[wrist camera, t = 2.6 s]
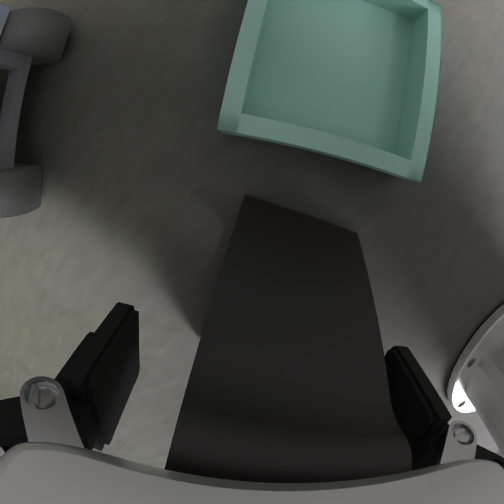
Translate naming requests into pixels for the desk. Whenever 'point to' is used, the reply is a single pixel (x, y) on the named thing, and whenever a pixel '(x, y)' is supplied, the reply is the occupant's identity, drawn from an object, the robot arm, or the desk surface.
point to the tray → (338, 79)
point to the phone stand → (289, 362)
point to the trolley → (18, 63)
